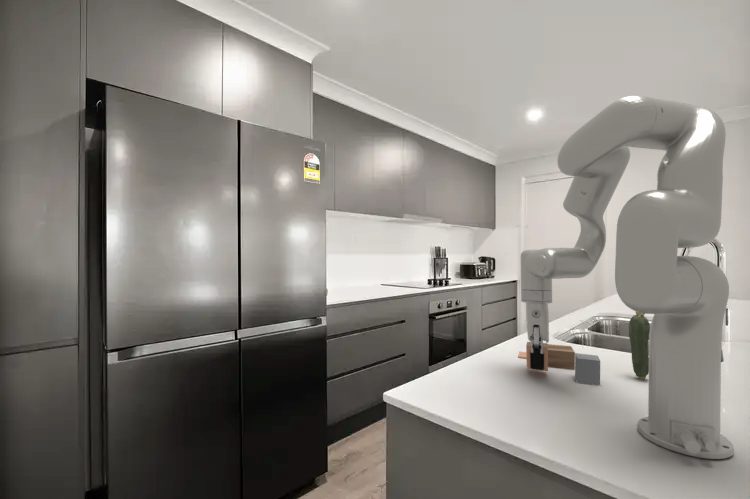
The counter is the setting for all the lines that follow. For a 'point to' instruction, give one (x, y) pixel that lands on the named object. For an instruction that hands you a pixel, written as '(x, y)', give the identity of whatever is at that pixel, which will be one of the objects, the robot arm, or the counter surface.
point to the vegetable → (639, 344)
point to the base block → (561, 357)
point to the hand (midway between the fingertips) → (537, 365)
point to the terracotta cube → (545, 352)
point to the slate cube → (587, 369)
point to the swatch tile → (522, 355)
